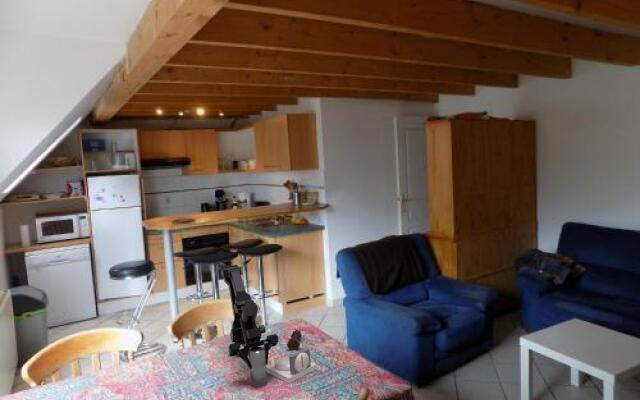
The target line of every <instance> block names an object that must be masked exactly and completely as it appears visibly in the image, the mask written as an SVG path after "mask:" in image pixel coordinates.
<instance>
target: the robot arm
mask: <svg viewBox="0 0 640 400" xmlns="http://www.w3.org/2000/svg"><path fill="white" fill-rule="evenodd" d="M220 272H221V273H220V274H221V278H223V281H224V283H225V285H227V286H228V290H229V296H230V302H231V309H232V315H233V321H232V323H231V328H230V340H231V342H232V343H230V344H229V345H228V350H227V351H228V357H235V356H236V357H237V358H240V359H241V360H242V361H243V362H244V363H245V365H246V366H247V368H248V369H249V370H250V369H251V365H250V362H249V349H251V348H253V347H258V346H260V347H264V348H265V358H266V366H269V365H268V364H269V352H270V350H272V348H273V347H276V346H278V343H279V340H280V339H279V336H278V335H277V334H276V333H273V334H272V333H271V334H269V335H266V338H265V339H262V336H263V335H262V334H266V333H267V331H266V330H267V329H266V326H265V324H259V326H257V323H256V322H257V321H256V320H257V315H258V312H259V307H258V305H257V303H256V302H254V300H253V299H252V296H251V295H250V294H249V293H248V292H247V291H246V288H245V285H244V281H243V278H242V276H243V269H242V266H239V265H238V264H234V265H228V266H223V269H221V271H220Z"/></svg>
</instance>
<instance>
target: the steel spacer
mask: <svg viewBox="0 0 640 400" xmlns="http://www.w3.org/2000/svg"><path fill="white" fill-rule="evenodd" d="M248 359H249V362H250V365H251V369H249V374H250V381H251V382H250V383H251V387H253V388H263V387H265V386H267V384H268V383H269V382H268V372H267V370H266V367H267V365H266V358H265V348H264V346H258V347H253V348H249V353H248Z"/></svg>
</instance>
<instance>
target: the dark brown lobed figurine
mask: <svg viewBox="0 0 640 400" xmlns="http://www.w3.org/2000/svg"><path fill="white" fill-rule="evenodd" d="M302 336H303V335H302V332H301V331H300V330H299V329H295V330H293V332H292V334H291V335H290V338H289V340H288V341H287V343H286V346H287V347H286V348H288V350H289V351H293V352H294V351H298V350H299V348H300V345H301V343H300V341H301V338H302Z"/></svg>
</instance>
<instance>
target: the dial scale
mask: <svg viewBox="0 0 640 400" xmlns="http://www.w3.org/2000/svg"><path fill="white" fill-rule="evenodd" d="M310 351H311V350H310V348H309V347H305V348H303V349H302V350H299V351H297V352H295V353H293V354H290V355H286V356H282V357H280V358H278V359H276V360H275V361H274V363H272V364H270V365H267V366H266V370H267V374H269V375H272V376H273V377H276V378H277V379H280V380H281V381H284V382H285V383H288V384H291V383H293V382H294V381H296V380H298V379H300V378H302V377H305V376H307V375H308V374H310V373H311V372H313V371H315V370H317V363H315V362H312V361H311V352H310Z"/></svg>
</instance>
